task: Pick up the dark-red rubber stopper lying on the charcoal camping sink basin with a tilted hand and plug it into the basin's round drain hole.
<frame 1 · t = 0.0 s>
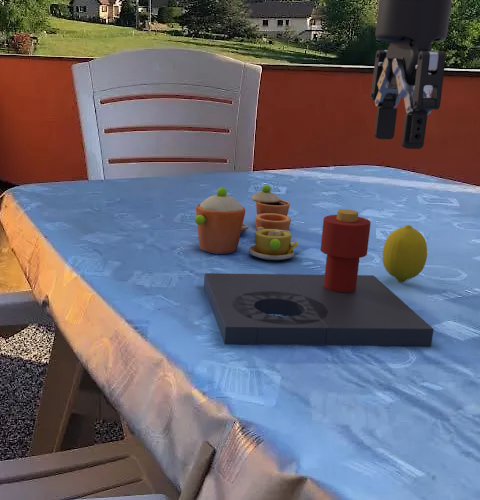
hand: (397, 143, 82), 20 cm above the table, tool pointing down, fingers open, 8 cm apart
toy tea set: (247, 240, 115), on the table
sink basin: (306, 314, 83), on the table
lemon: (400, 284, 95), on the table
stopper: (339, 287, 87), point 2 cm above the table, touching sink basin
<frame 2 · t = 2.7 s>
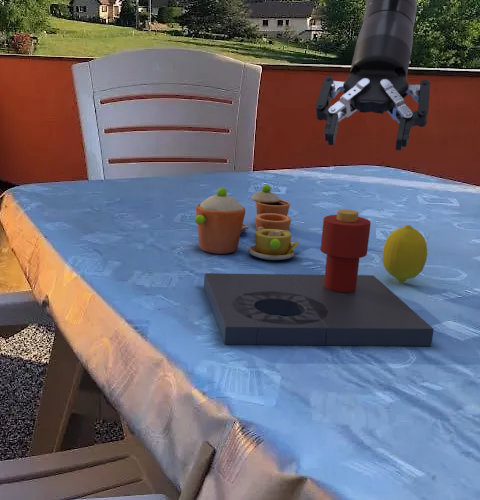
hand: (364, 144, 92), 18 cm above the table, tool tilted 45°, fingers open, 8 cm apart
nothing on the table moved.
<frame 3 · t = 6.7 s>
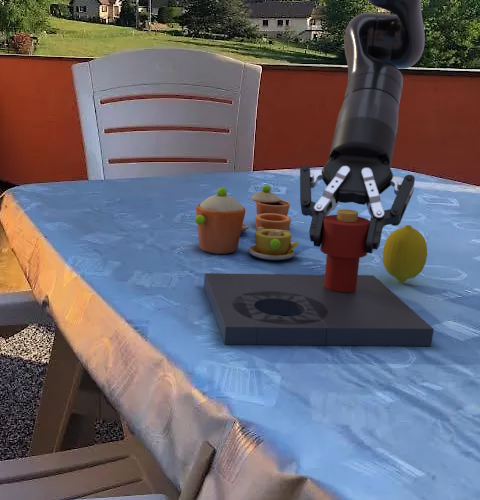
hand: (342, 246, 83), 8 cm above the table, tool tilted 45°, fingers closed on stopper, 5 cm apart
stopper: (339, 287, 87), point 2 cm above the table, touching gripper, sink basin
everything else where it was.
when the fingers open (6 cm above the table, at t = 15.9 s): stopper stays where it is, resting in sink basin.
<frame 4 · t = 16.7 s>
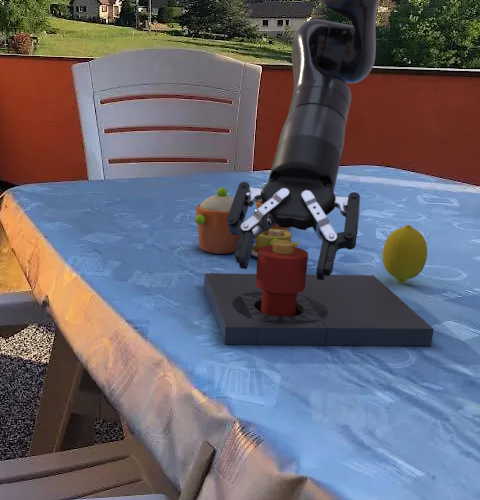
hand: (280, 271, 77), 7 cm above the table, tool tilted 45°, fingers open, 8 cm apart
stopper: (276, 323, 80), resting in sink basin
everything else where it was.
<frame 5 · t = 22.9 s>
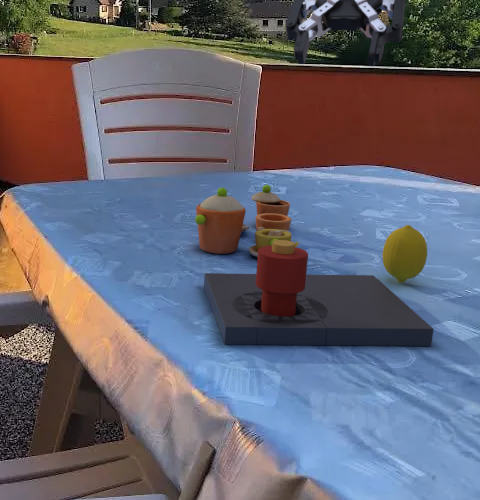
hand: (335, 60, 88), 29 cm above the table, tool tilted 45°, fingers open, 8 cm apart
nothing on the table moved.
at the end: stopper 0.1 cm from the target spot in the sink basin, point 0.0 cm above the sink basin's base; stopper tilted 0°; the gripper is holding nothing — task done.
